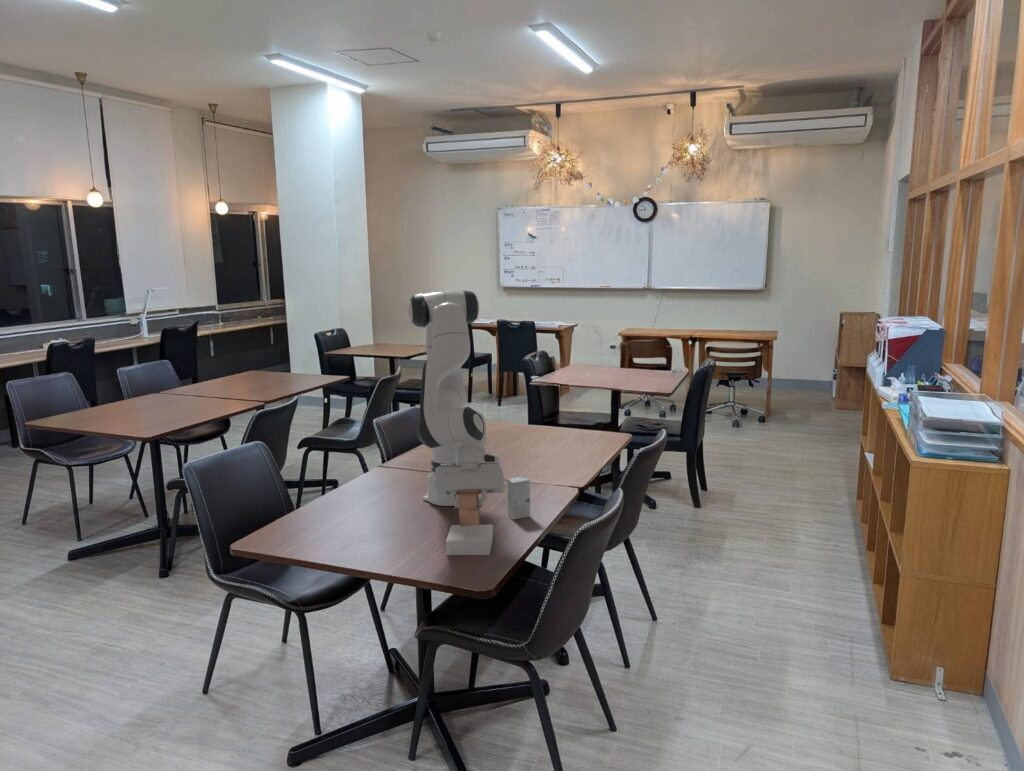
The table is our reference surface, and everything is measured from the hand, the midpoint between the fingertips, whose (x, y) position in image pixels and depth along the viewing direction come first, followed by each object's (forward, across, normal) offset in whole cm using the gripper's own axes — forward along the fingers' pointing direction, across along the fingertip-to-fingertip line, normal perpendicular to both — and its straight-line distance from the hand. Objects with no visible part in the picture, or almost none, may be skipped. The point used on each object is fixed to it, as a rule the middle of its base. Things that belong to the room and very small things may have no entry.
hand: (468, 506), depth 195 cm
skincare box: (-8, +12, +26) cm, 30 cm away
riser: (+8, 0, +9) cm, 12 cm away
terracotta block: (+3, 0, +4) cm, 5 cm away
